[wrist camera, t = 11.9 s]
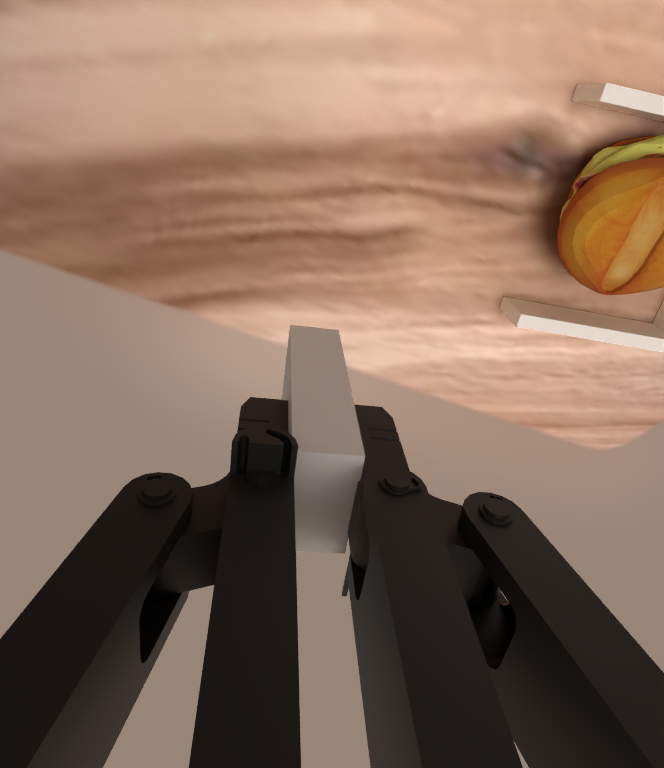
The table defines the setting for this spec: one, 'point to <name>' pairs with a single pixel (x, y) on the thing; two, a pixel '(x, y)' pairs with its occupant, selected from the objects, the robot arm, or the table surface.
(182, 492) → the robot arm
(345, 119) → the table surface
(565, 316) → the box
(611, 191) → the cheeseburger
